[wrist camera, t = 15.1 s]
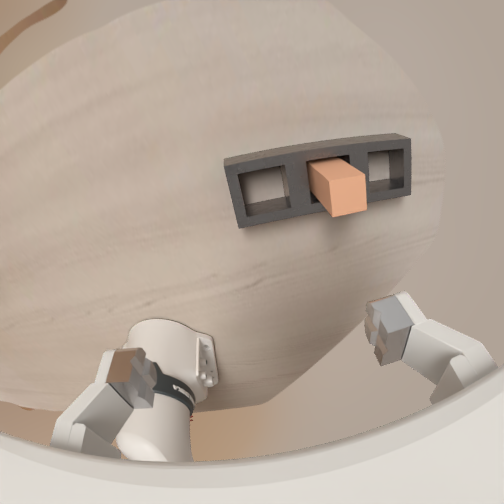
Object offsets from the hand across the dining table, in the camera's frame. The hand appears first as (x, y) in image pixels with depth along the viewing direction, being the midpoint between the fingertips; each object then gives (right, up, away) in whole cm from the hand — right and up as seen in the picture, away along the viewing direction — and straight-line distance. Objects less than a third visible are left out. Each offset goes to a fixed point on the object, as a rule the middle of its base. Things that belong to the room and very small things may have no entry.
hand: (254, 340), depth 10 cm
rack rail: (+9, +14, +27) cm, 31 cm away
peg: (+9, +14, +27) cm, 31 cm away
